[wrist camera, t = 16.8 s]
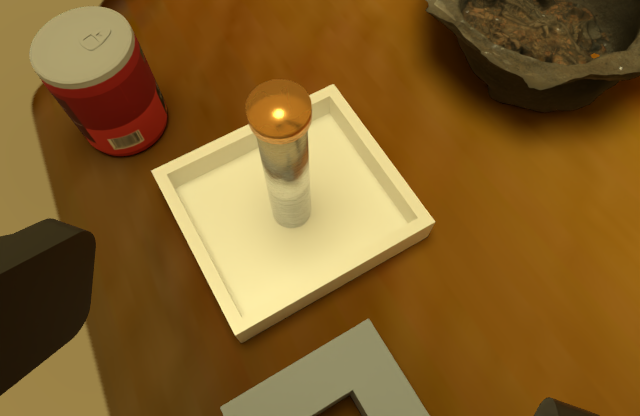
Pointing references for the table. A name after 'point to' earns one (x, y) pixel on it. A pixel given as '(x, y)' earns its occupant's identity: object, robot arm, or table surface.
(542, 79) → the stone bowl
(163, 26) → the table surface
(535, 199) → the table surface
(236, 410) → the block
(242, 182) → the pin tray
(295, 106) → the pin
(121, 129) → the canned food
